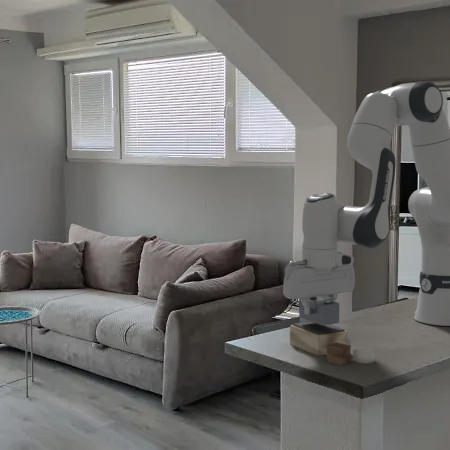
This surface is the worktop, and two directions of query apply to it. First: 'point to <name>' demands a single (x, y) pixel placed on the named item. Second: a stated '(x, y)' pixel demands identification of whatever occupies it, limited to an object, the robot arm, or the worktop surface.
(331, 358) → the walnut block
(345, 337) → the stand
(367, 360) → the white egg shape
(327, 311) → the block
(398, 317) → the worktop surface
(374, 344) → the worktop surface
